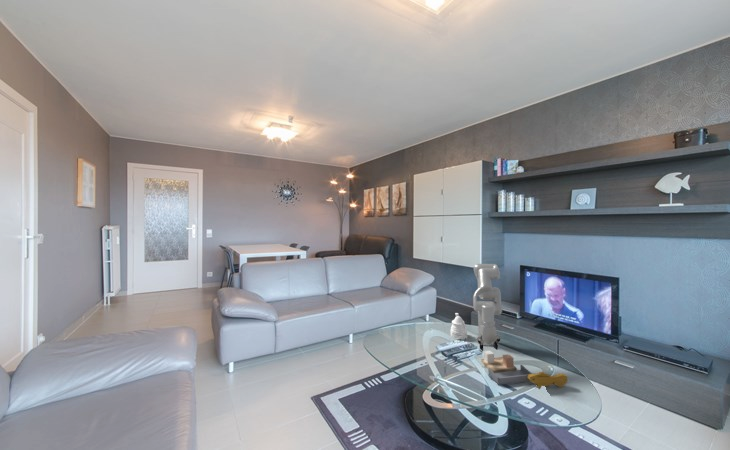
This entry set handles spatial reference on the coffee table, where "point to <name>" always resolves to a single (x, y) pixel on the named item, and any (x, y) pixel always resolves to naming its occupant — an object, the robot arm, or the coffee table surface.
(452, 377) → the coffee table surface
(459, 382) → the coffee table surface
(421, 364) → the coffee table surface
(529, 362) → the coffee table surface
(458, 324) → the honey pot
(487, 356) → the cream block
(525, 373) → the box
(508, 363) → the terracotta block
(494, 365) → the board
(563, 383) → the decorative fish
